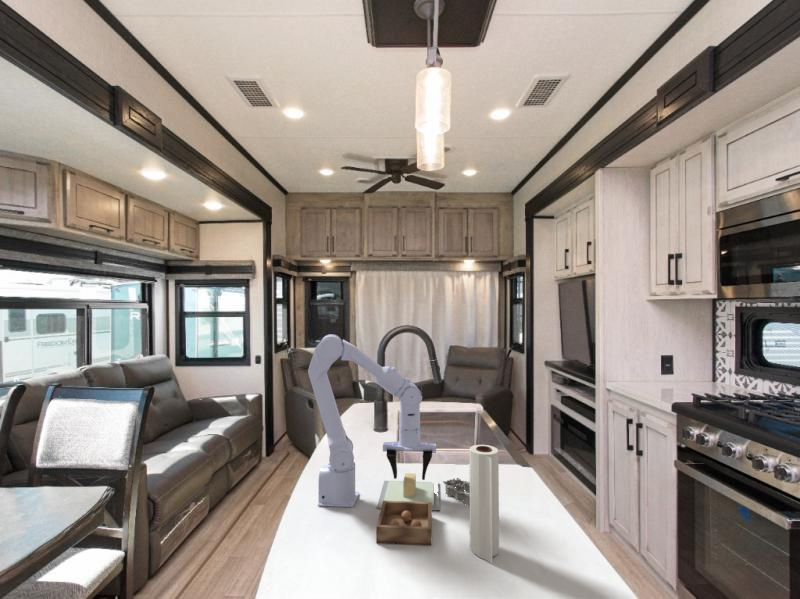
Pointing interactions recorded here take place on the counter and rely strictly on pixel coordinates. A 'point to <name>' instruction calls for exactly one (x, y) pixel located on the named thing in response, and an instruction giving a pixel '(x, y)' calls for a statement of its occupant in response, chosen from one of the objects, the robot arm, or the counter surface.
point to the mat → (384, 488)
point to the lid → (410, 490)
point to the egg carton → (458, 489)
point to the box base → (405, 523)
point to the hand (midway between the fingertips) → (409, 477)
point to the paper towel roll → (484, 501)
